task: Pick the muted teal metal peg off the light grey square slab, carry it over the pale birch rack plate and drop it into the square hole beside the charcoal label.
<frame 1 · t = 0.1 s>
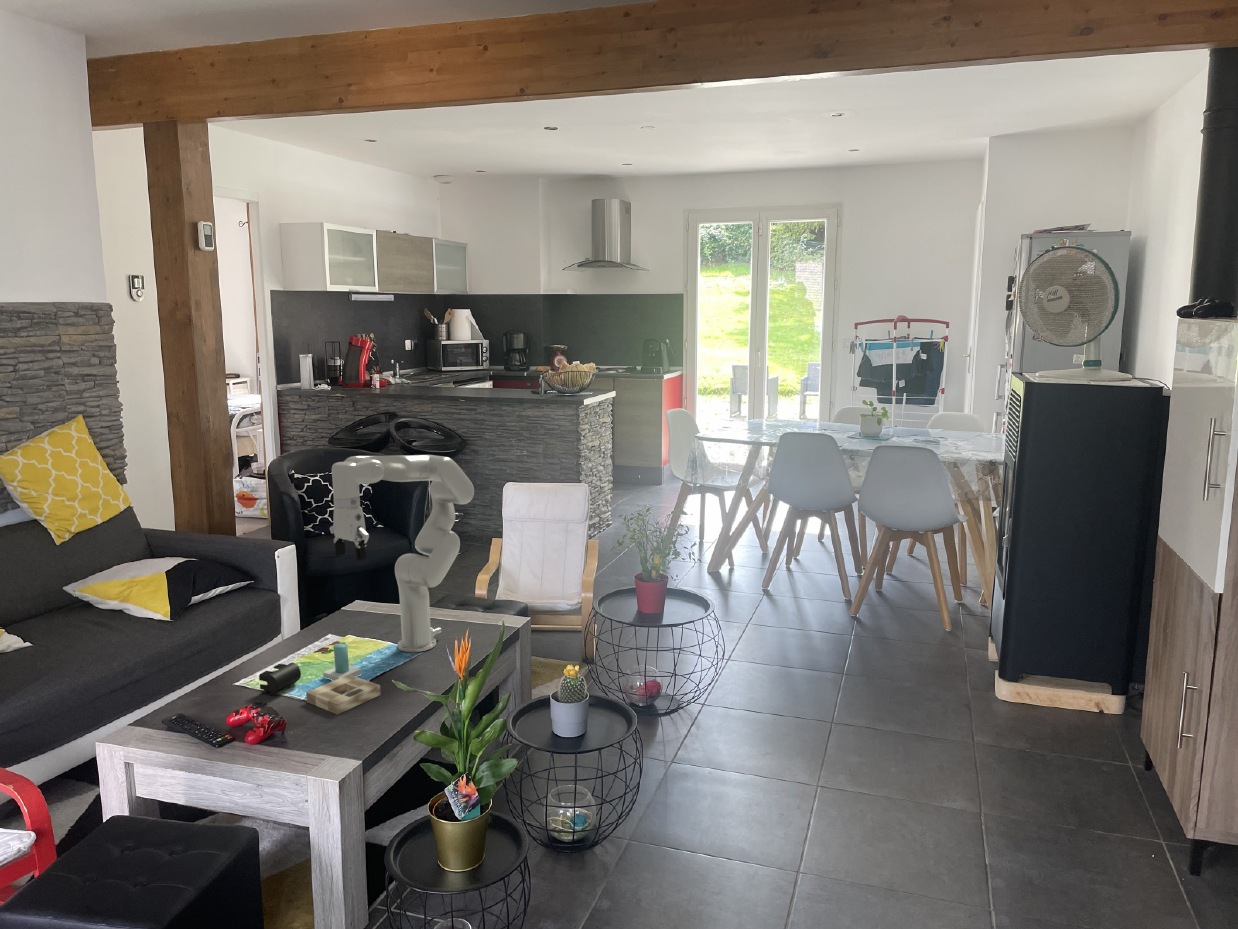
hand: (350, 557, 267), 37 cm above the table, tool pointing down, fingers open, 9 cm apart
light grey square slab: (342, 676, 269), on the table
teal peg: (342, 670, 268), point 2 cm above the table, touching light grey square slab
rack plate: (344, 698, 253), on the table
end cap: (281, 690, 260), on the table
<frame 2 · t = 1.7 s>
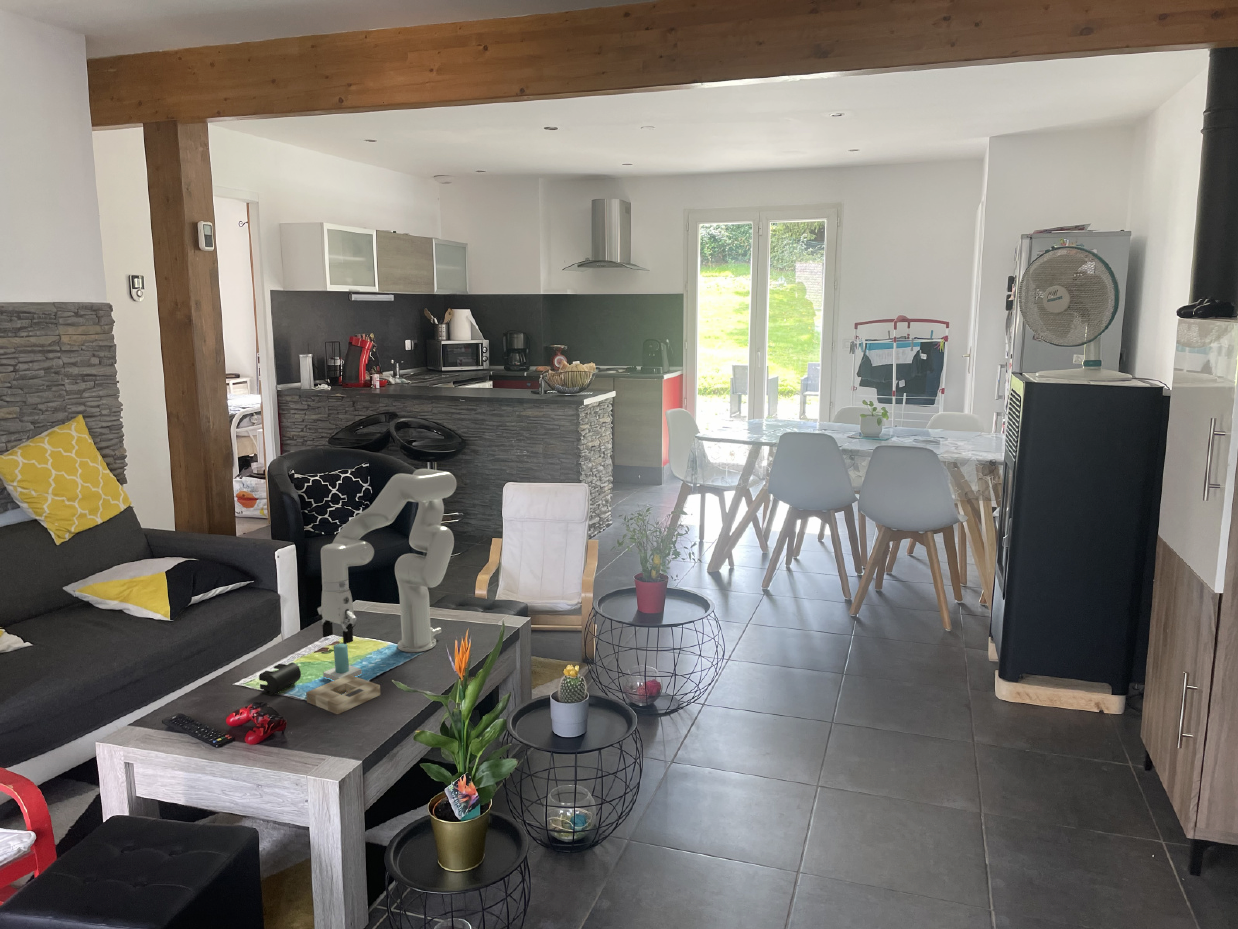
hand: (338, 639, 266), 12 cm above the table, tool pointing down, fingers open, 9 cm apart
nothing on the table moved.
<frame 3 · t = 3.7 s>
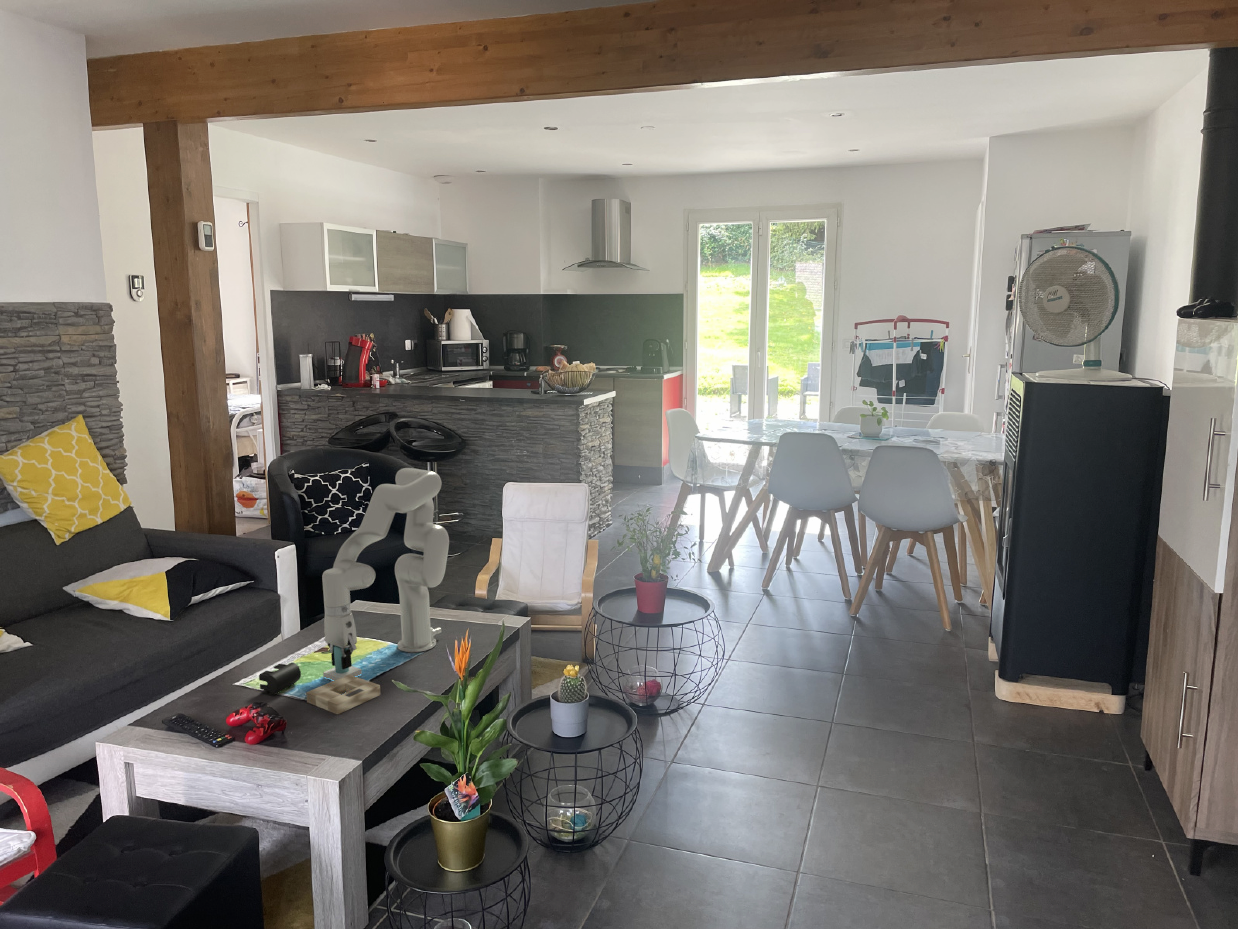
hand: (341, 665, 268), 4 cm above the table, tool pointing down, fingers closed on teal peg, 4 cm apart
teal peg: (342, 670, 268), point 2 cm above the table, touching gripper, light grey square slab
everything else where it was.
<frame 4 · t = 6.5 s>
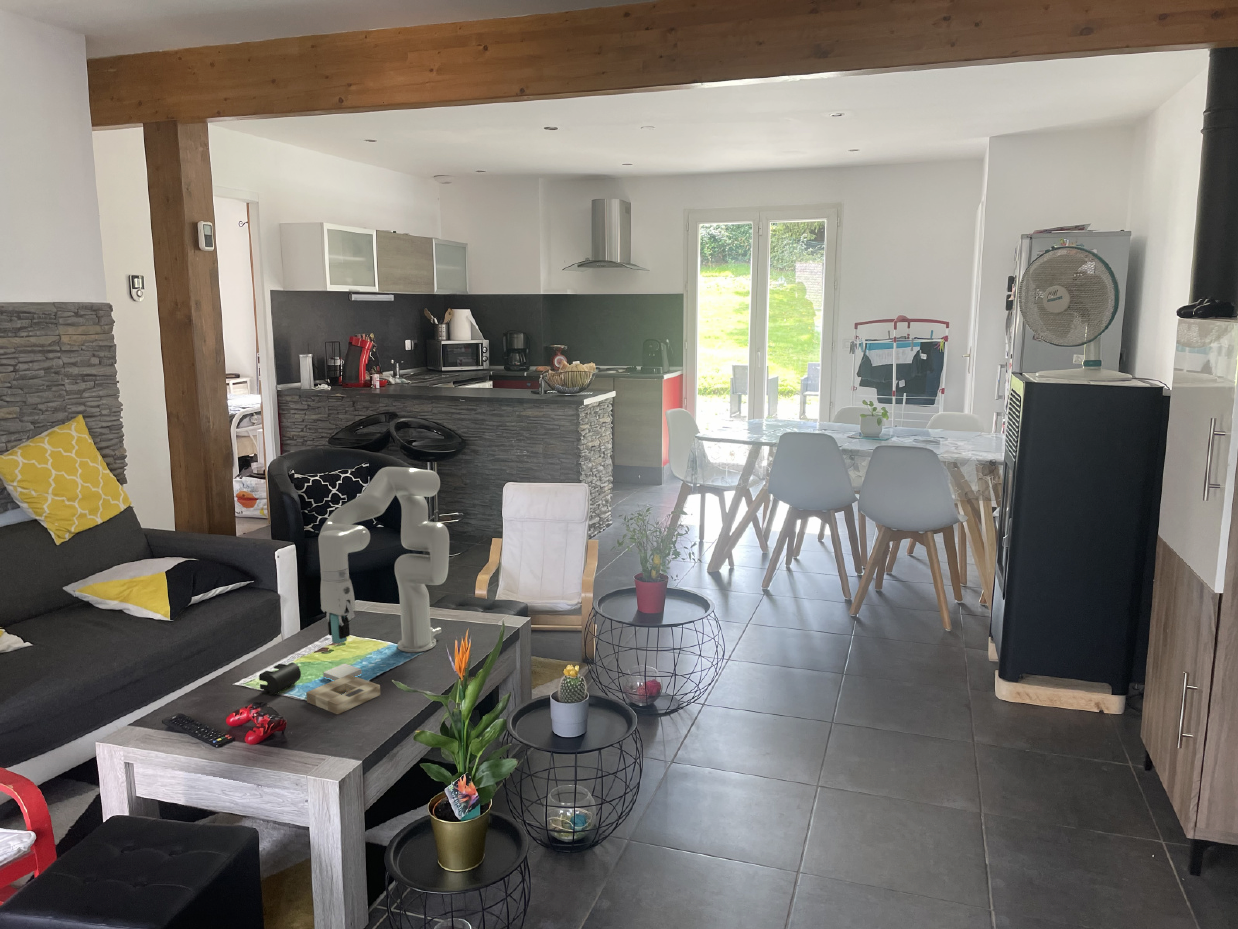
hand: (339, 635, 250), 19 cm above the table, tool pointing down, fingers closed on teal peg, 4 cm apart
teal peg: (339, 640, 250), point 18 cm above the table, touching gripper
everything else where it was.
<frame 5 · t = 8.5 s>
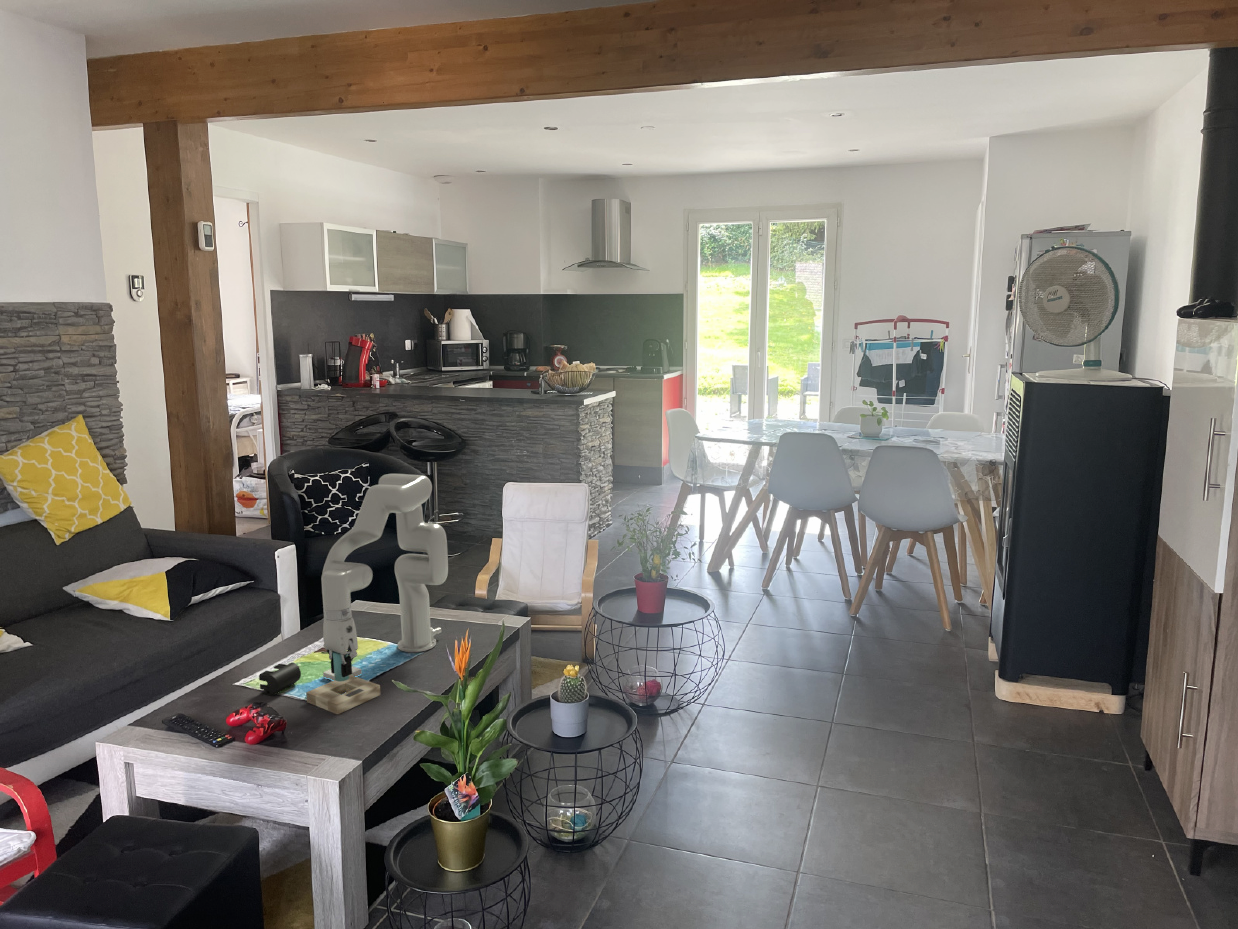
hand: (341, 673, 252), 8 cm above the table, tool pointing down, fingers closed on teal peg, 4 cm apart
teal peg: (341, 678, 252), point 6 cm above the table, touching gripper
everything else where it was.
when the fingers open (6 cm above the table, at t = 9.8 s): teal peg drops 4 cm, resting in rack plate.
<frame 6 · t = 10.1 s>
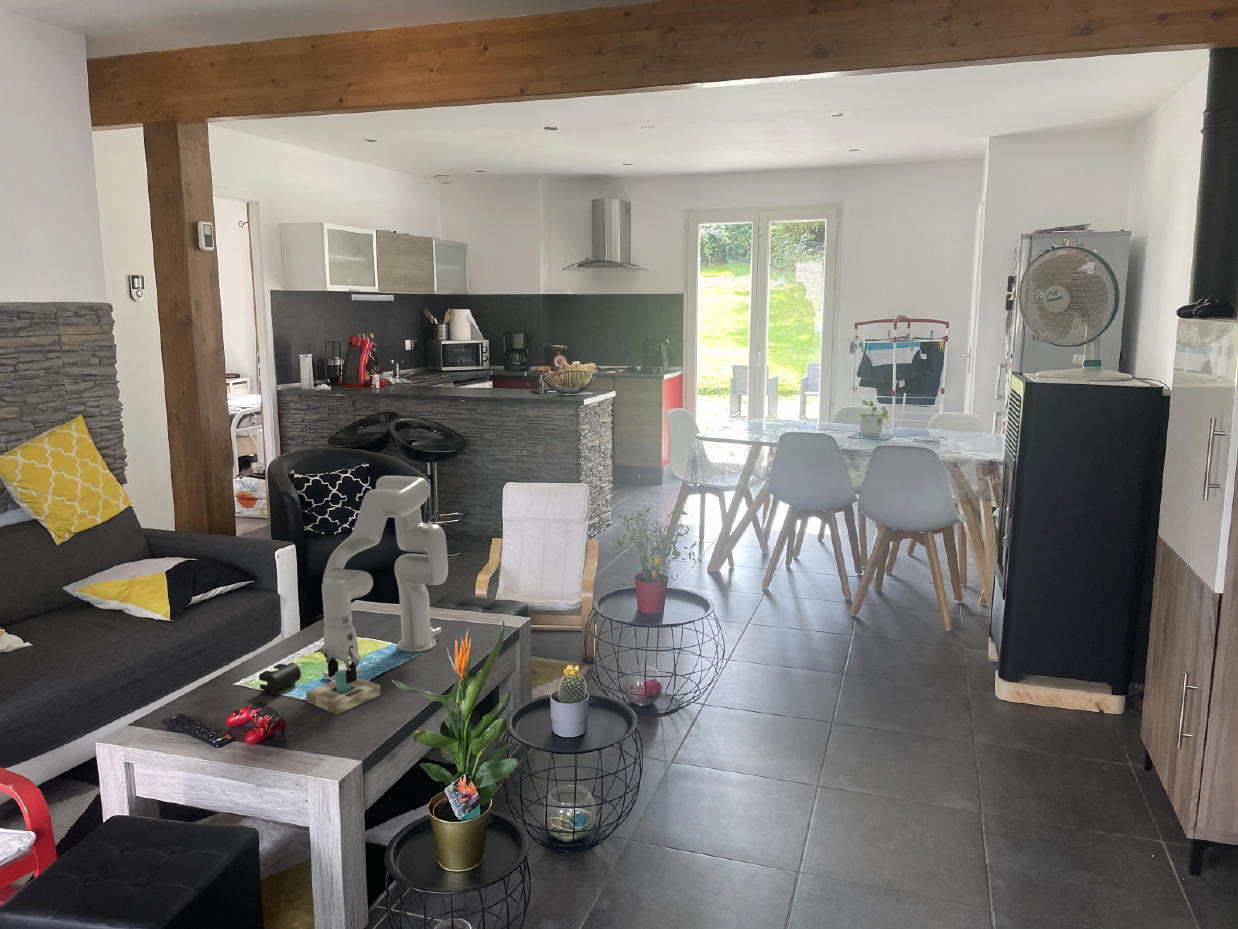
hand: (342, 678, 252), 6 cm above the table, tool pointing down, fingers open, 7 cm apart
teal peg: (344, 698, 253), resting in rack plate
everything else where it was.
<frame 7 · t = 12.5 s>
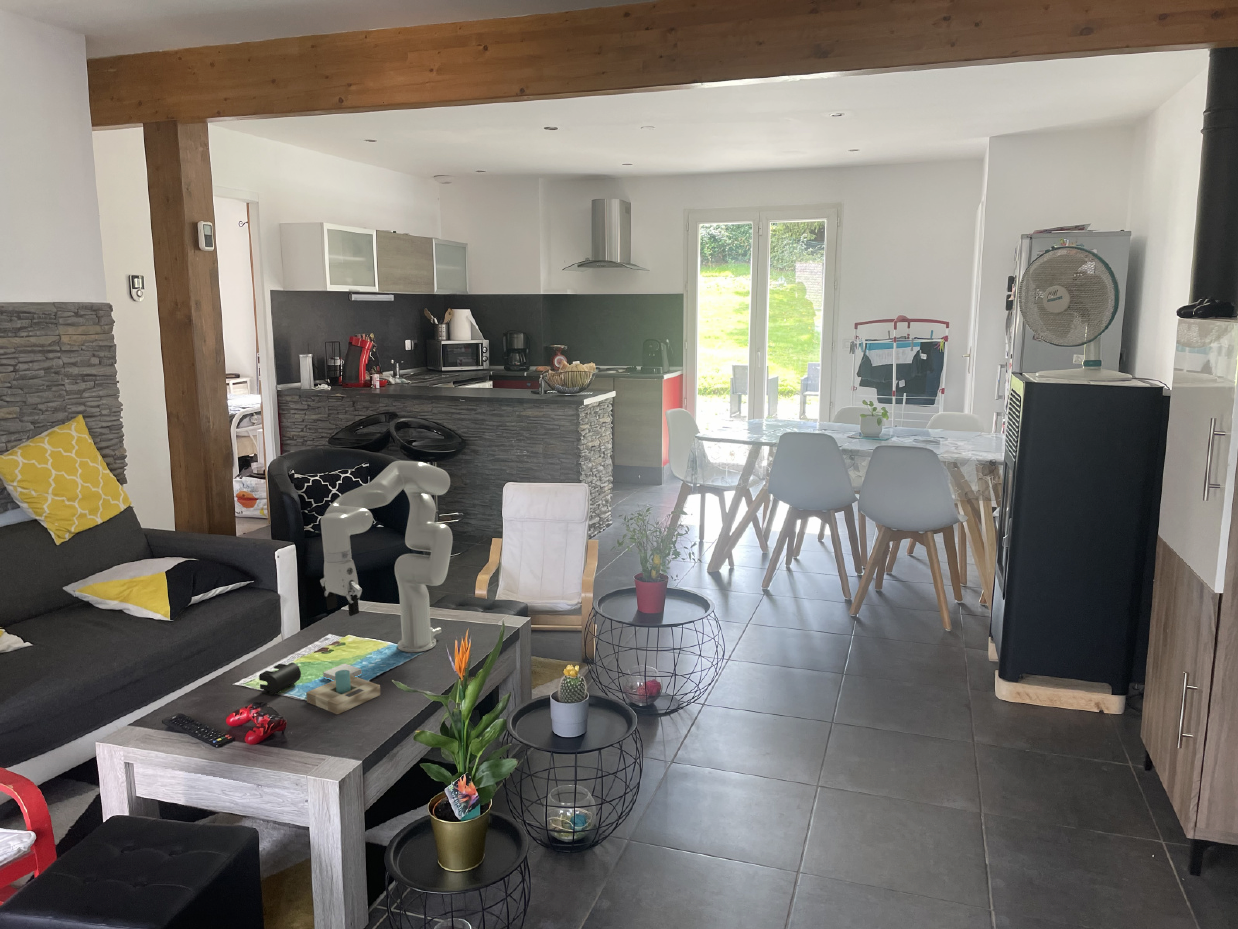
hand: (343, 611, 256), 24 cm above the table, tool pointing down, fingers open, 9 cm apart
nothing on the table moved.
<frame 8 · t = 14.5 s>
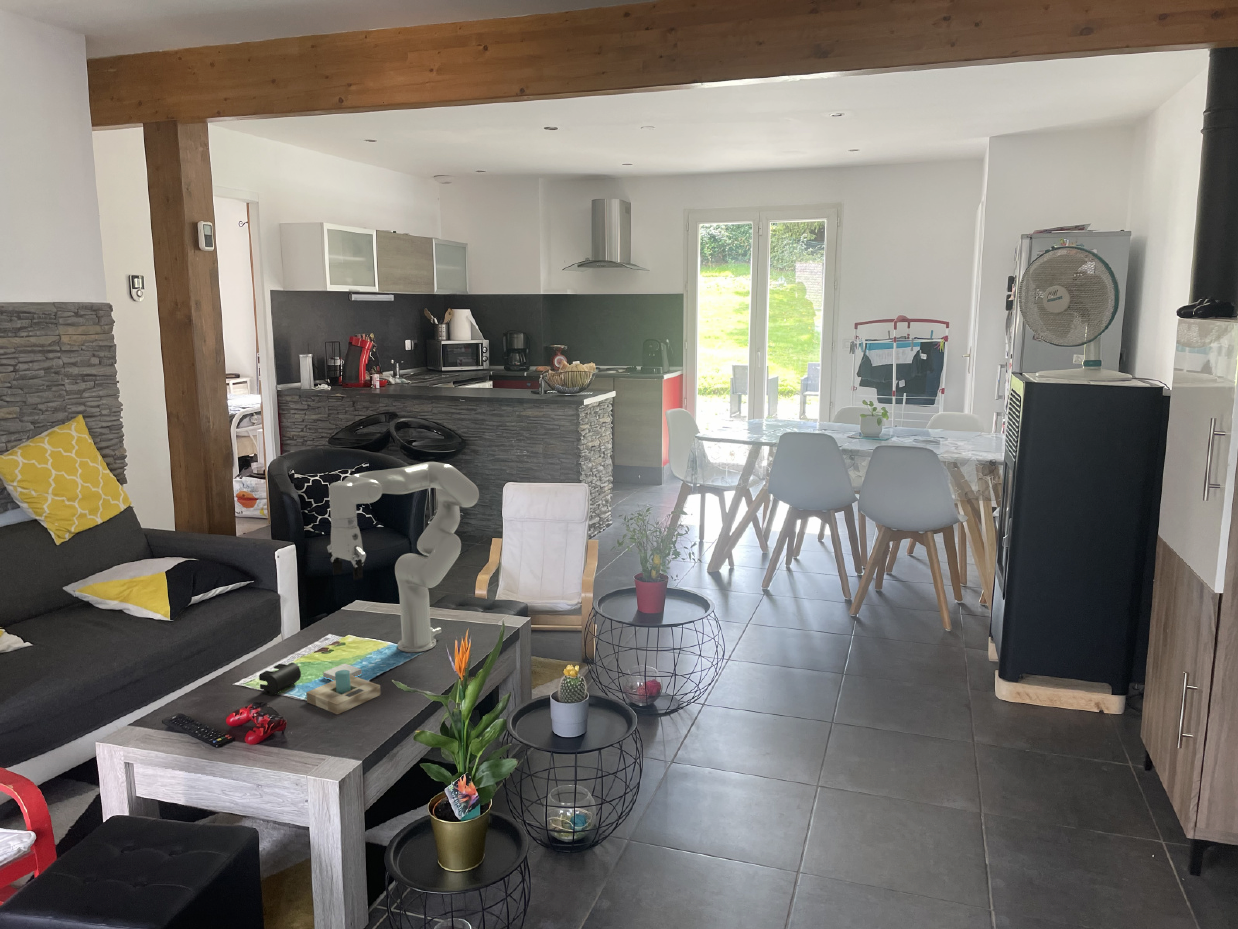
hand: (348, 576, 269), 30 cm above the table, tool pointing down, fingers open, 9 cm apart
nothing on the table moved.
at the end: teal peg 0.1 cm off-centre on the rack plate, point 0.0 cm above the rack plate's base; teal peg tilted 0°; the gripper is holding nothing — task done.
